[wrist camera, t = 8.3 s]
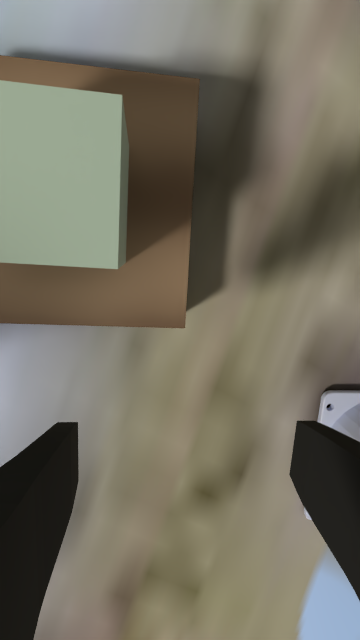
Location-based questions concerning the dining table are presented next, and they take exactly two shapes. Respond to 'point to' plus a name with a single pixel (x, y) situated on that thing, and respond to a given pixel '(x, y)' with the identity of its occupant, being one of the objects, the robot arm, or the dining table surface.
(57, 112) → the cube
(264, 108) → the dining table surface
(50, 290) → the base block
